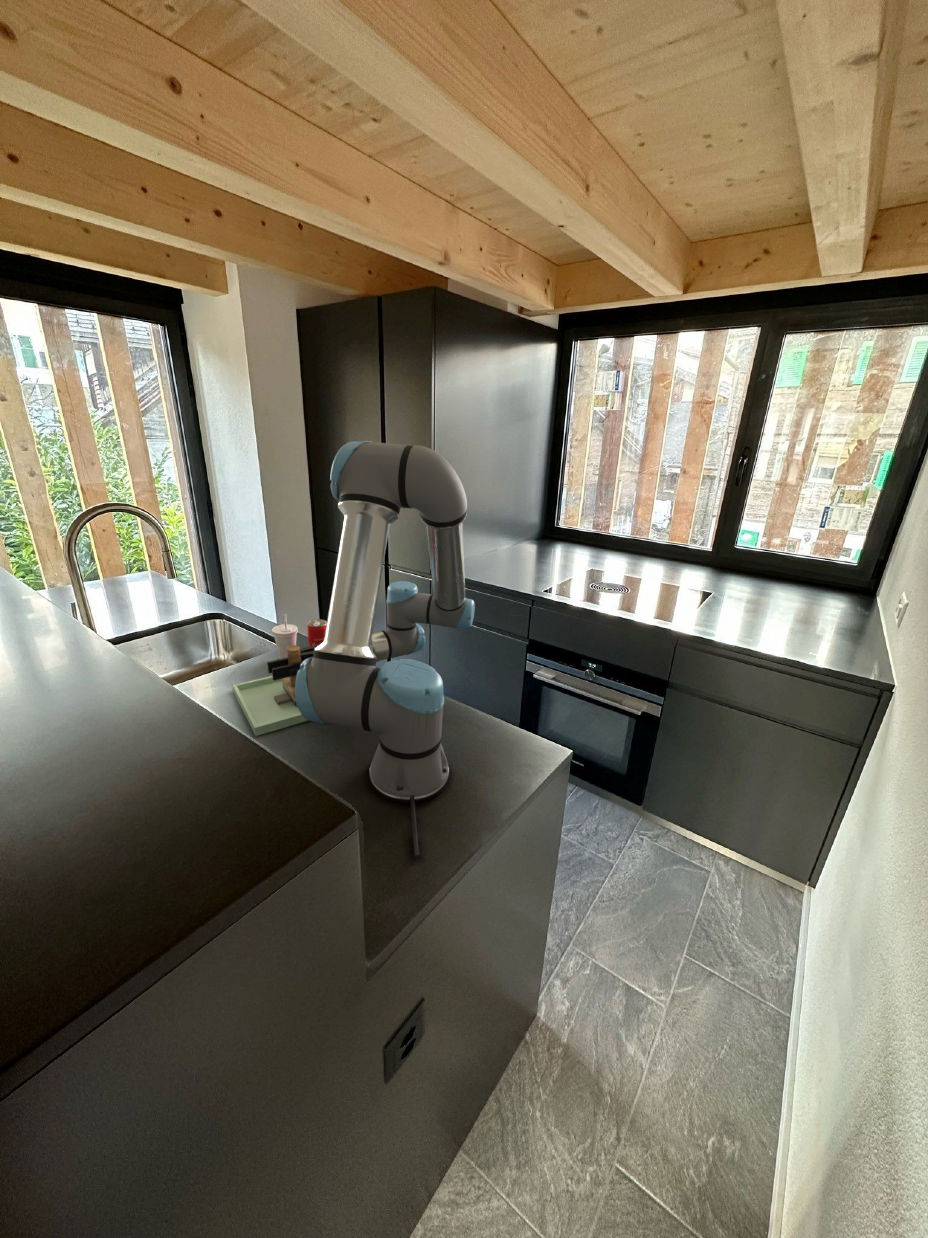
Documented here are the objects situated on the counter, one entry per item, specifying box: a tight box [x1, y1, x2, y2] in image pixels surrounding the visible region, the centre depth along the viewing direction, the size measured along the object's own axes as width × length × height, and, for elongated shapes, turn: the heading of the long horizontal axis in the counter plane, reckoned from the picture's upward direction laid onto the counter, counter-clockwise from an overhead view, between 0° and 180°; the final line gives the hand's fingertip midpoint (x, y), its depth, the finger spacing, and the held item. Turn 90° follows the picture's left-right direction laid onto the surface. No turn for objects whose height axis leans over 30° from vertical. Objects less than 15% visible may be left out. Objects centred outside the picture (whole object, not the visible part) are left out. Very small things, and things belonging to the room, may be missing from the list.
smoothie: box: [271, 613, 299, 659], centre depth 135 cm, size 6×6×14 cm
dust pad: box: [274, 693, 291, 705], centre depth 120 cm, size 3×3×1 cm
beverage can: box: [306, 618, 327, 647], centre depth 136 cm, size 5×5×12 cm
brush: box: [282, 644, 301, 706], centre depth 119 cm, size 9×4×12 cm, turn 35°
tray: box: [232, 675, 309, 737], centre depth 120 cm, size 20×17×2 cm
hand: (270, 671), depth 116 cm, fingers closed on brush, 3 cm apart
